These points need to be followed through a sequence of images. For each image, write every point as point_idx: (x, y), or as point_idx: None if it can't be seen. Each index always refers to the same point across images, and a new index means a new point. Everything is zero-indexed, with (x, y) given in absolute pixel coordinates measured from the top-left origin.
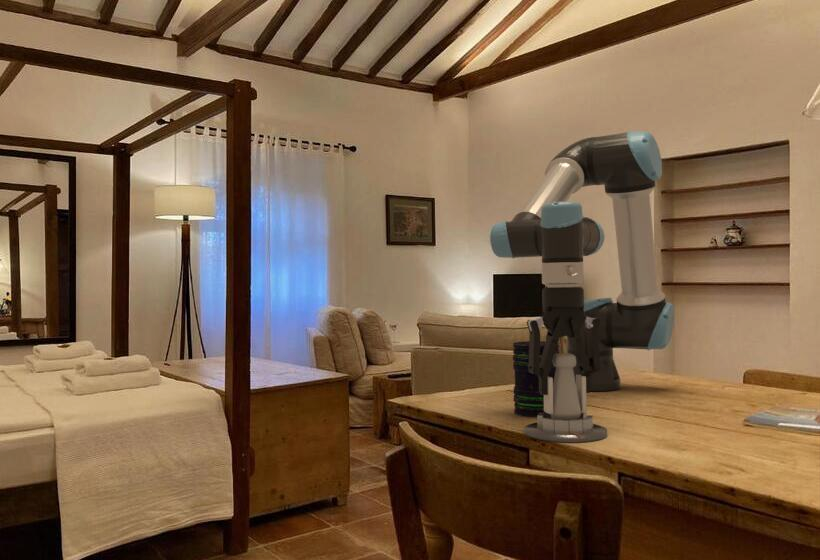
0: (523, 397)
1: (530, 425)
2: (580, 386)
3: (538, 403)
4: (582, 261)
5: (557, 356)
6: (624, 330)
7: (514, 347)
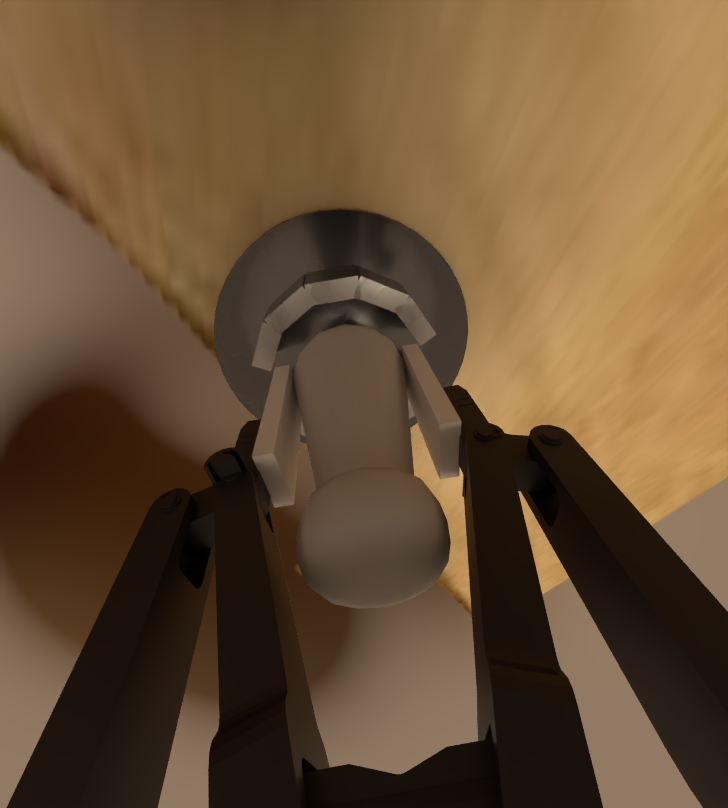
0: None
1: (236, 289)
2: (426, 433)
3: None
4: None
5: (321, 595)
6: None
7: None
